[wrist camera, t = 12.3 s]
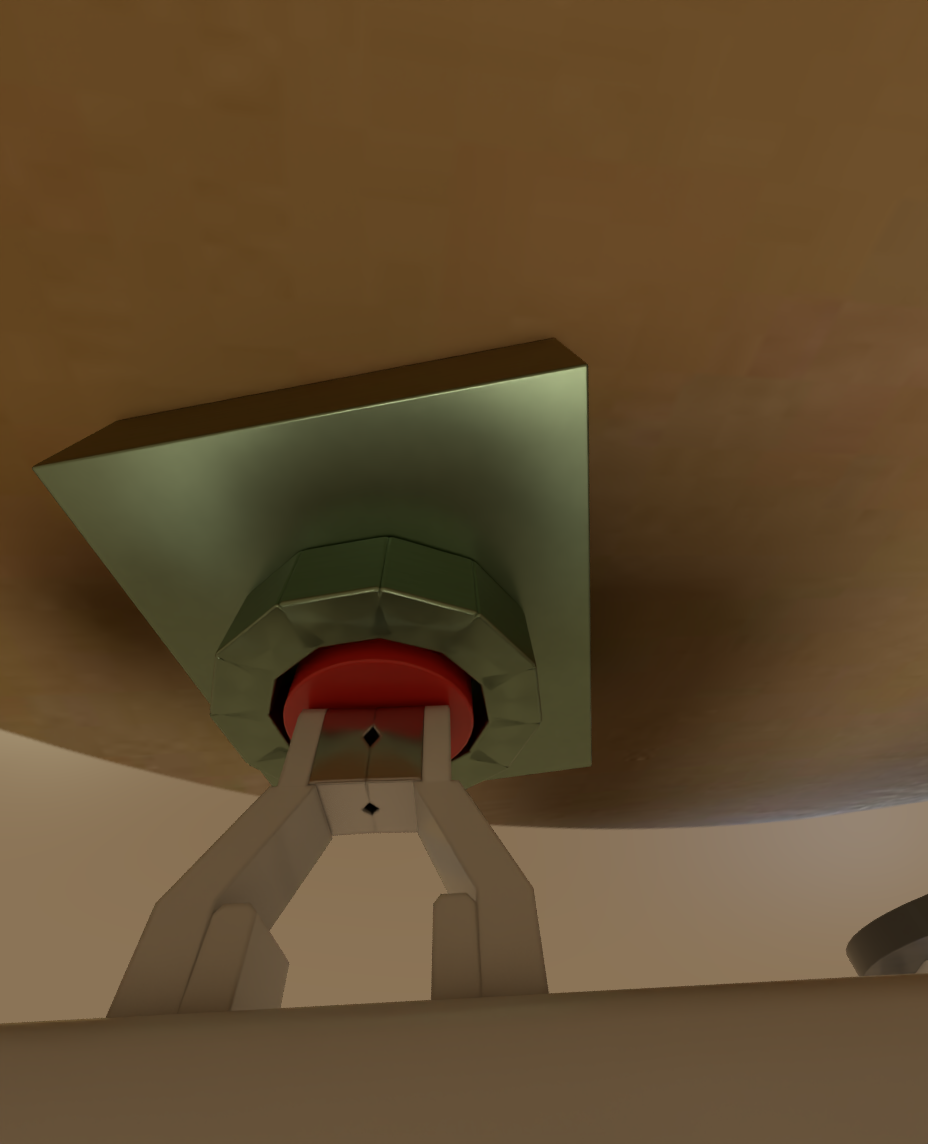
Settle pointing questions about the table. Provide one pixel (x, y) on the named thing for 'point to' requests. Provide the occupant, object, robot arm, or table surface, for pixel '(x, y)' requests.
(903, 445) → the table surface
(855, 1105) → the robot arm
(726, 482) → the table surface
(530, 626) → the button box
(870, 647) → the table surface
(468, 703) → the red push button
